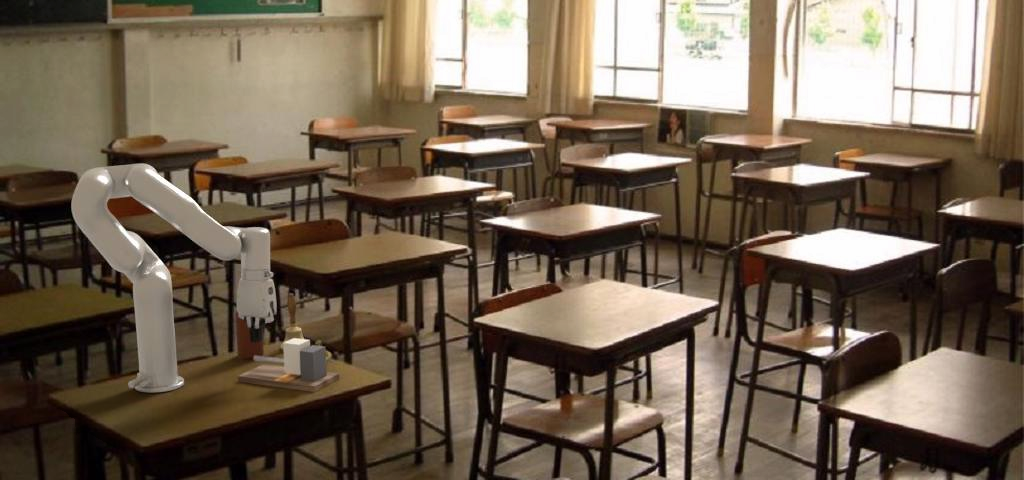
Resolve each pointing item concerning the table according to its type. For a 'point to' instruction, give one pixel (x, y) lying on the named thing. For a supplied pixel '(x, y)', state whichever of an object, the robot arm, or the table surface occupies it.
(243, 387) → the table surface
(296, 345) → the sleeve
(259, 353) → the bottle
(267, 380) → the board
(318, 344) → the seal
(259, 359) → the metal rod
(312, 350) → the connector block
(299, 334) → the hand bell
